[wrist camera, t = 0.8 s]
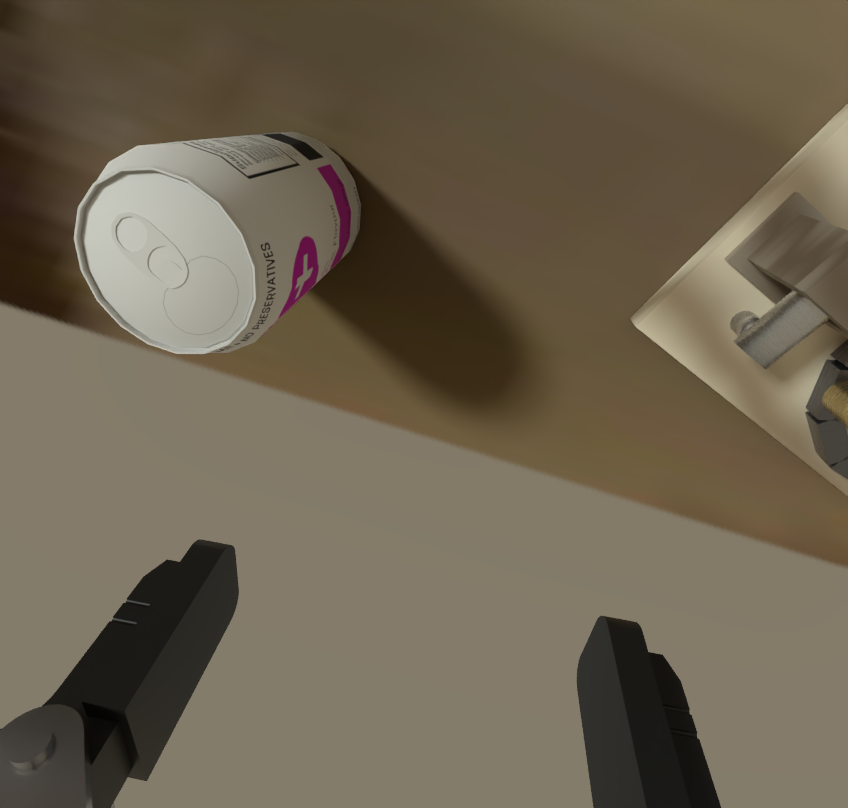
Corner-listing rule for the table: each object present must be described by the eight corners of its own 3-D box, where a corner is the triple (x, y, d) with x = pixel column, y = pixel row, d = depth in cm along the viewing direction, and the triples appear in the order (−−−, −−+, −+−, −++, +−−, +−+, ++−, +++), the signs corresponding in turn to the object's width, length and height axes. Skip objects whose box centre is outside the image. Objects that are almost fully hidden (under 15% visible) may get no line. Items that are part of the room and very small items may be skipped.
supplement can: (390, 210, 32) (316, 278, 19) (305, 295, 35) (193, 403, 22) (291, 97, 29) (127, 86, 16) (210, 200, 33) (22, 259, 20)
